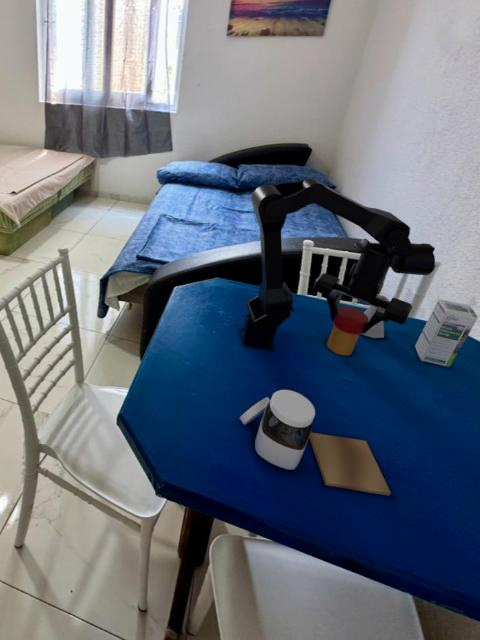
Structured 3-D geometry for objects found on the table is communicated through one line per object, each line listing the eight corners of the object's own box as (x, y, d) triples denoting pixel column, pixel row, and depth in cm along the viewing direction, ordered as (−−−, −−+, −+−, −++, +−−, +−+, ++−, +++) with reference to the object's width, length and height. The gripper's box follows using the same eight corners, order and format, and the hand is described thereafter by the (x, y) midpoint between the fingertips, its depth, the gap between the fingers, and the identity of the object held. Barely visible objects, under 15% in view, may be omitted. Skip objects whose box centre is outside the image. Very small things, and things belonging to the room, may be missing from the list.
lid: (369, 330, 95) (374, 319, 93) (351, 337, 92) (356, 326, 91) (344, 315, 100) (349, 304, 98) (326, 321, 97) (331, 310, 96)
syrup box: (420, 361, 96) (447, 311, 89) (413, 345, 101) (438, 297, 94) (449, 368, 94) (479, 317, 87) (441, 352, 99) (469, 303, 92)
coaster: (325, 485, 68) (326, 482, 68) (307, 434, 77) (309, 431, 76) (389, 496, 67) (391, 493, 66) (364, 443, 75) (366, 440, 75)
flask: (389, 341, 102) (404, 308, 97) (357, 336, 103) (371, 304, 98) (377, 323, 108) (391, 292, 103) (348, 319, 109) (360, 288, 105)
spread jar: (294, 483, 68) (314, 437, 63) (227, 450, 73) (240, 405, 68) (304, 432, 77) (322, 388, 72) (244, 406, 82) (257, 363, 77)
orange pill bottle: (331, 353, 97) (343, 322, 93) (323, 338, 102) (335, 308, 97) (356, 357, 96) (370, 325, 92) (347, 341, 101) (360, 310, 97)
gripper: (429, 273, 88) (401, 330, 95) (337, 244, 99) (318, 297, 107) (419, 292, 81) (390, 352, 88) (321, 259, 92) (302, 314, 100)
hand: (348, 326), depth 96 cm, fingers closed on lid, 6 cm apart
